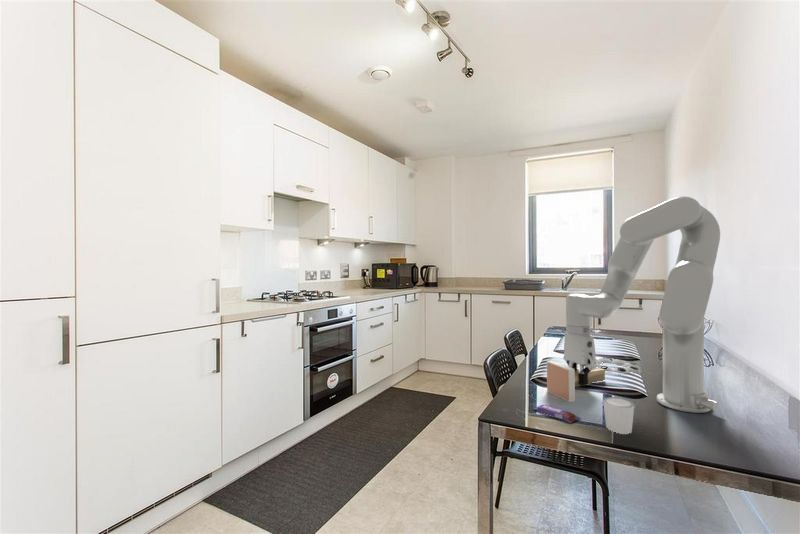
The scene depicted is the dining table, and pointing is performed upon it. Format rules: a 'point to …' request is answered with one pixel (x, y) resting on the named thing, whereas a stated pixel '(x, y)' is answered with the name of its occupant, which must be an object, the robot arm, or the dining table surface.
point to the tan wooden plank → (591, 376)
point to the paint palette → (628, 366)
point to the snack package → (557, 413)
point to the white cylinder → (618, 414)
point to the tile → (561, 380)
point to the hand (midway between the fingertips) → (578, 382)
